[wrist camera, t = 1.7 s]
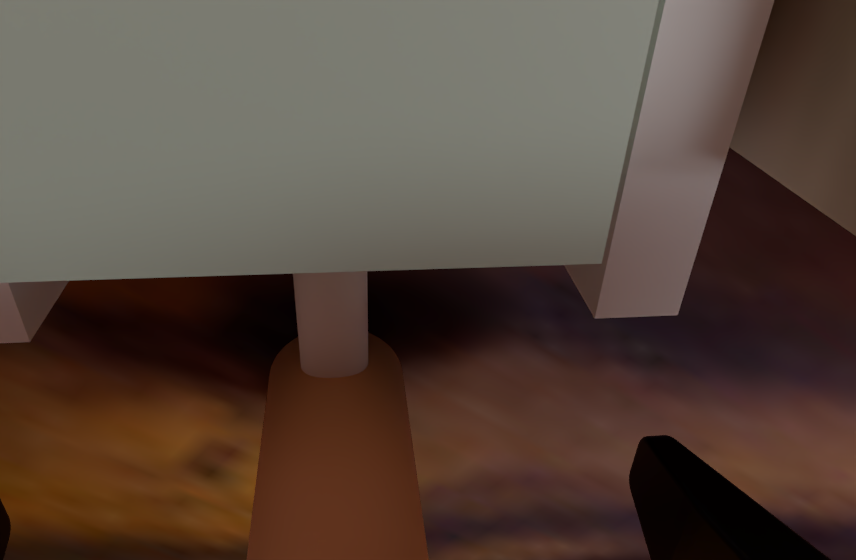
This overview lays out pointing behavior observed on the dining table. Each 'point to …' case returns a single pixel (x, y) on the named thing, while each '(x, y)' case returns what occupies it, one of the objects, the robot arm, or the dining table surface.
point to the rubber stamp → (316, 189)
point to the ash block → (806, 105)
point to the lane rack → (641, 174)
